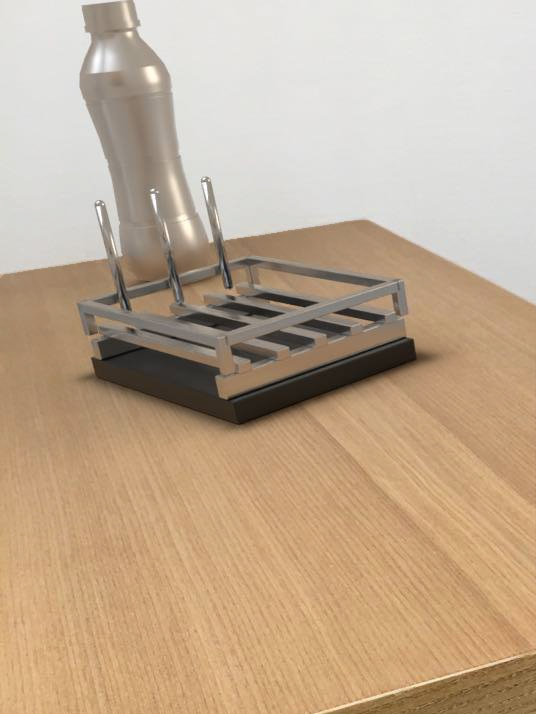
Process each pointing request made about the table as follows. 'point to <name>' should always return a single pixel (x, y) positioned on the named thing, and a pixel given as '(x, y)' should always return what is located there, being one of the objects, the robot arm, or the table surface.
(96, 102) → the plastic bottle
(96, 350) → the dish rack
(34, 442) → the table surface
